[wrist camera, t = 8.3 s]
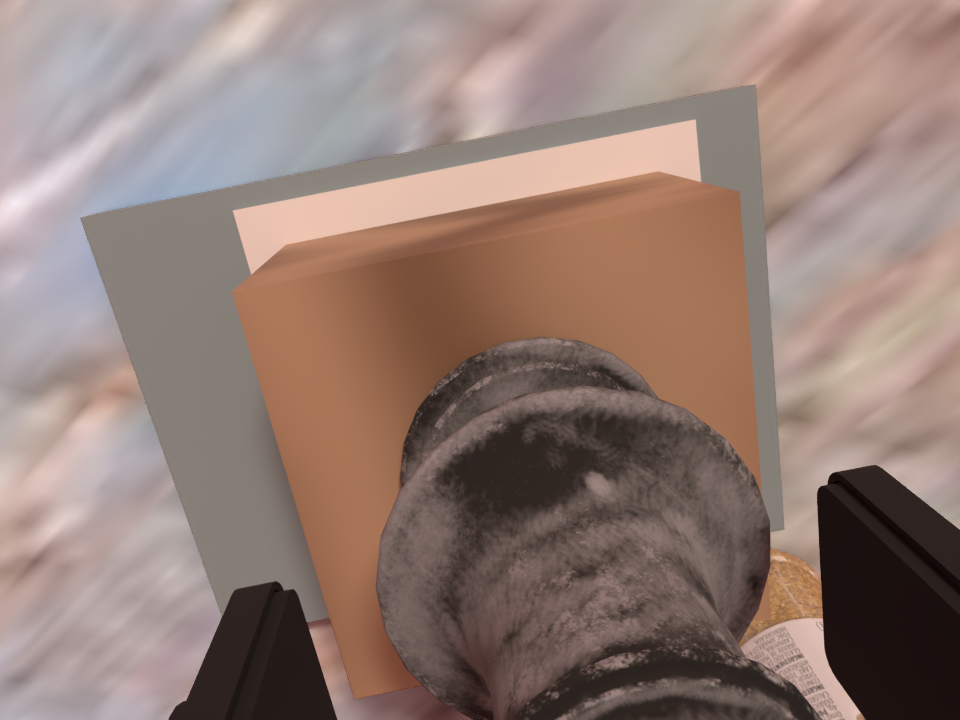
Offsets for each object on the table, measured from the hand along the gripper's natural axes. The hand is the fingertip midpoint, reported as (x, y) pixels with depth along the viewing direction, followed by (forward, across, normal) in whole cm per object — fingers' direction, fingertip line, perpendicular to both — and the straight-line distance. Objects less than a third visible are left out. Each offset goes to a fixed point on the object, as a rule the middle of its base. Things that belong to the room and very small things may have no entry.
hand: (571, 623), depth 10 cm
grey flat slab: (+11, +1, 0) cm, 11 cm away
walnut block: (+10, 0, 0) cm, 10 cm away
